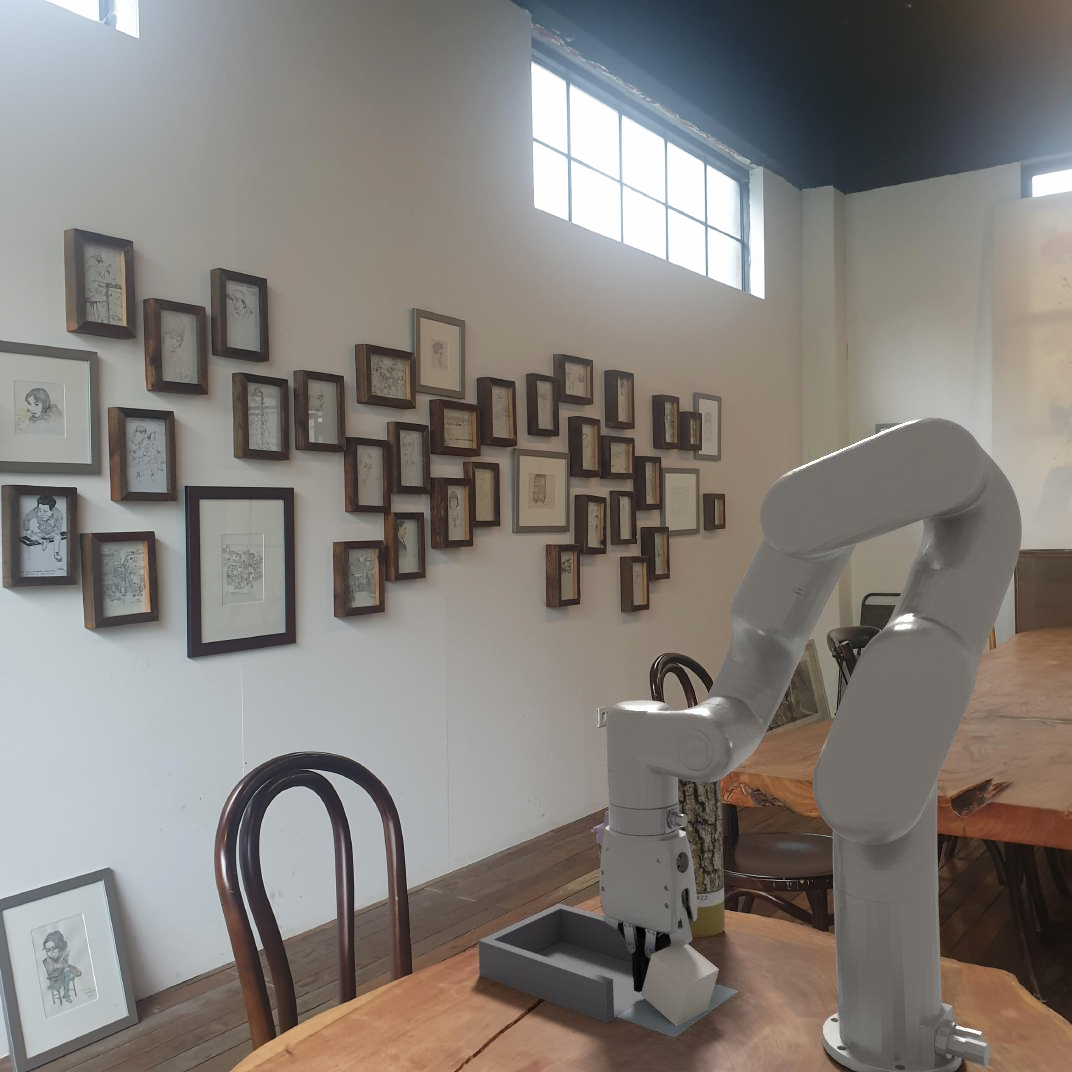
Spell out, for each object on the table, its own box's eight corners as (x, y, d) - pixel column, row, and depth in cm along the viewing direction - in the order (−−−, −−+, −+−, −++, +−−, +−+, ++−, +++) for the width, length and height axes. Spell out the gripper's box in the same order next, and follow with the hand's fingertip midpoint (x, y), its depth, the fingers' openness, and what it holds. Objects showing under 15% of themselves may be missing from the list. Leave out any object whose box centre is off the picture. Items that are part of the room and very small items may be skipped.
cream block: (707, 1009, 101) (719, 969, 100) (676, 1026, 98) (688, 984, 96) (672, 979, 104) (682, 940, 103) (641, 994, 101) (651, 954, 100)
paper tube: (725, 942, 119) (718, 738, 120) (669, 939, 121) (663, 738, 121) (725, 921, 126) (719, 728, 126) (672, 919, 127) (666, 728, 128)
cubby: (738, 995, 105) (737, 953, 105) (665, 1049, 94) (663, 1002, 94) (560, 939, 122) (559, 903, 122) (479, 979, 111) (478, 940, 111)
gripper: (722, 821, 102) (727, 996, 102) (609, 799, 112) (613, 959, 112) (683, 838, 97) (689, 1023, 96) (567, 814, 106) (572, 982, 106)
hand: (648, 988), depth 104 cm, fingers closed
